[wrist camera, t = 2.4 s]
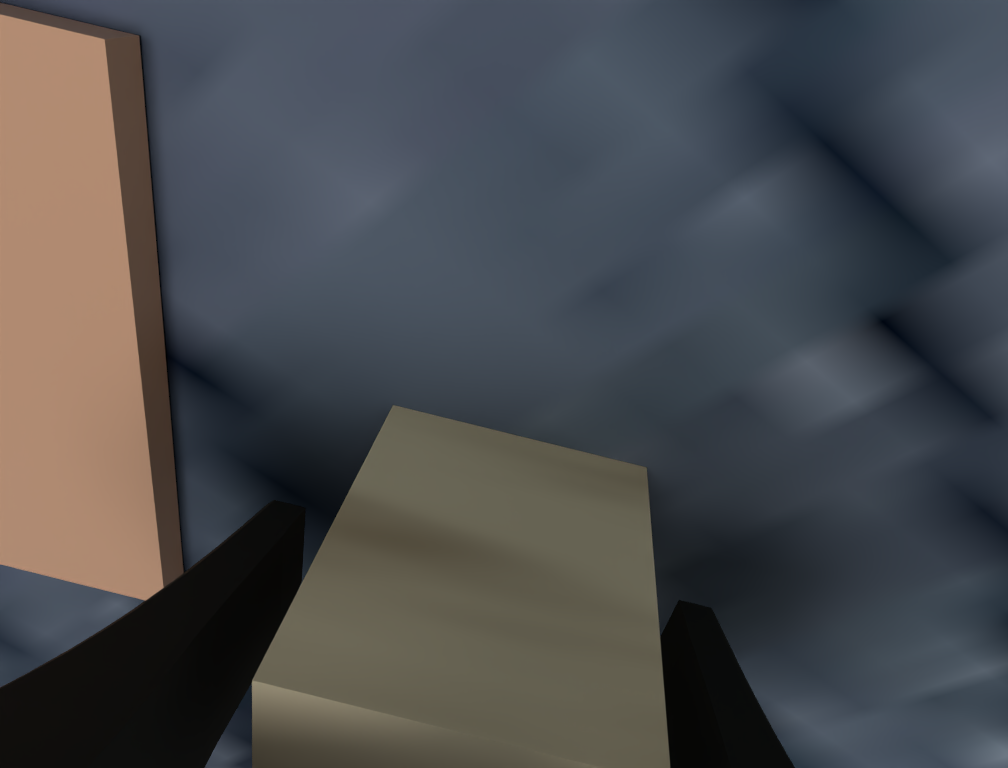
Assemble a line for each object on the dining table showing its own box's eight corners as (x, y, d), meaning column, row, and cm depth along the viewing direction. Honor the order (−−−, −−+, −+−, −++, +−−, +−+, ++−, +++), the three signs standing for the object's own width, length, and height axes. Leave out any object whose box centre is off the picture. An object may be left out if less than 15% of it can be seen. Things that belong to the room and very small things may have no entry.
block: (579, 631, 15) (565, 950, 10) (369, 579, 15) (252, 871, 10) (646, 465, 13) (672, 785, 8) (393, 403, 13) (252, 680, 8)
